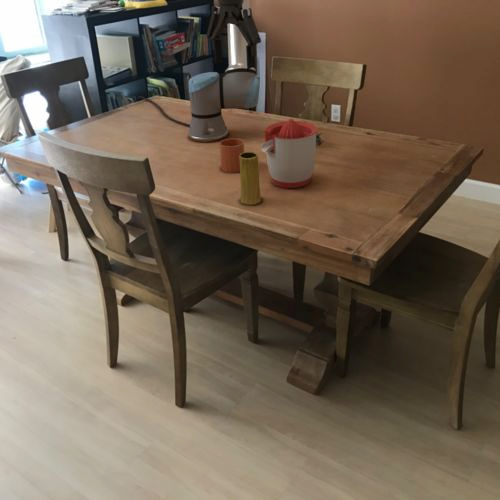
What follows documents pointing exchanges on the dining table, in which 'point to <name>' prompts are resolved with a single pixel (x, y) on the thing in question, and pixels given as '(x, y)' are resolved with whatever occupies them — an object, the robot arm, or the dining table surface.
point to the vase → (249, 178)
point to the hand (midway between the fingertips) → (234, 64)
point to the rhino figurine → (318, 139)
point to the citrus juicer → (290, 152)
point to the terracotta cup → (231, 154)
